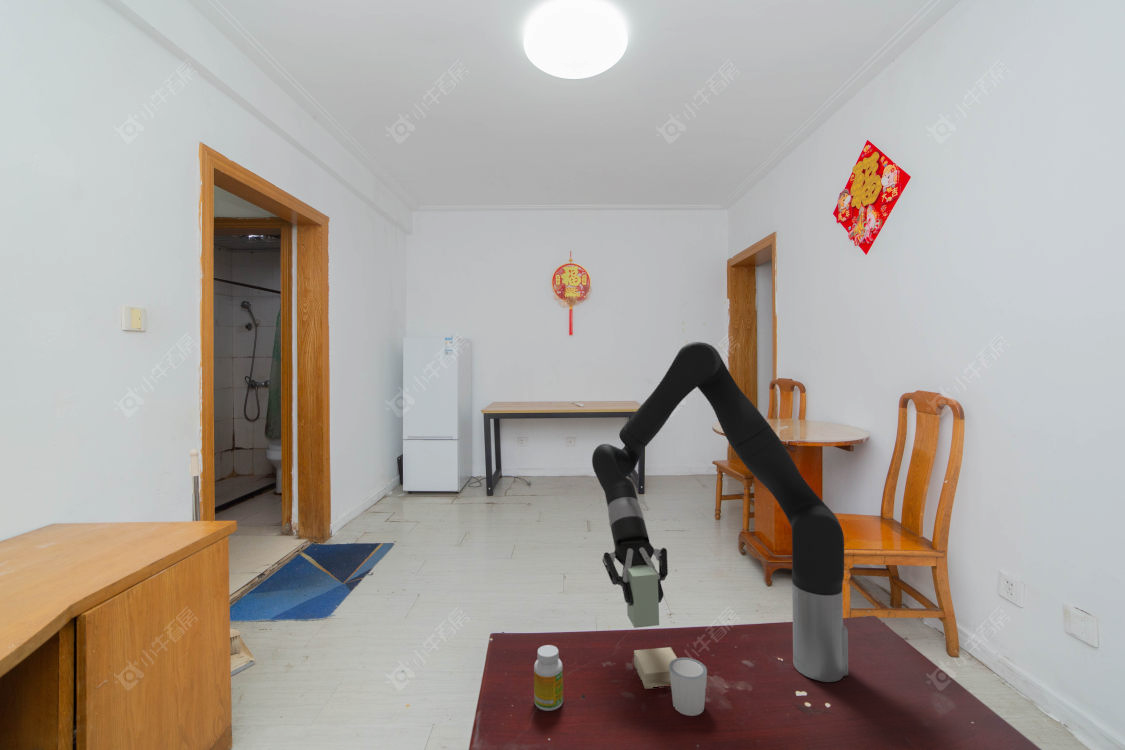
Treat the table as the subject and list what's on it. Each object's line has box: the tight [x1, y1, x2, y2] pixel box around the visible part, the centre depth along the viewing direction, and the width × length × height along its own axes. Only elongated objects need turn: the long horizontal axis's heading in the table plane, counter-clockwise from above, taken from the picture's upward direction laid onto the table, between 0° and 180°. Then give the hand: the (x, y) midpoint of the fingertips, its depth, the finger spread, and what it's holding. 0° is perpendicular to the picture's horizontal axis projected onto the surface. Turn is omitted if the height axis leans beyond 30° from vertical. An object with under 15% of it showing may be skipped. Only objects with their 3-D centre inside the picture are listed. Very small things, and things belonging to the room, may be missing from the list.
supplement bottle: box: [533, 644, 564, 712], centre depth 92 cm, size 5×5×10 cm
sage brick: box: [626, 565, 660, 629], centre depth 98 cm, size 5×5×10 cm
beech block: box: [633, 646, 678, 690], centre depth 100 cm, size 8×8×3 cm
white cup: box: [669, 657, 708, 717], centre depth 90 cm, size 7×7×7 cm
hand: (645, 602), depth 96 cm, fingers closed on sage brick, 5 cm apart
